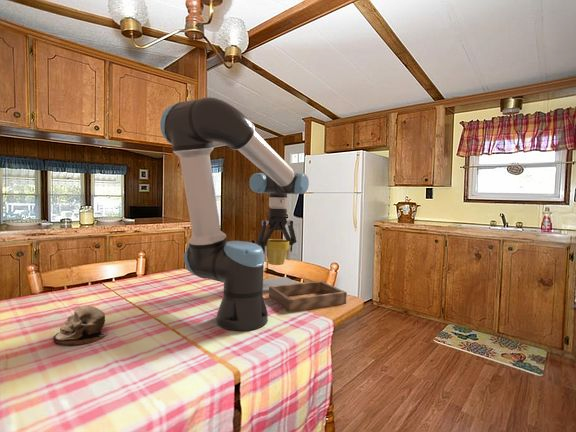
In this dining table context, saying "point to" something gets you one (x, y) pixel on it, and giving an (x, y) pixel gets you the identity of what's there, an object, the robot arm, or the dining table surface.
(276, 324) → the dining table surface
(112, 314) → the dining table surface
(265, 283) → the slate tray
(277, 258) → the plant pot
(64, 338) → the skull
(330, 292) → the walnut crate
